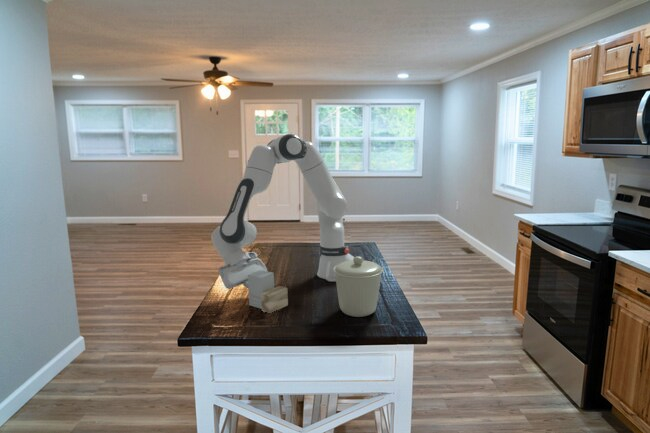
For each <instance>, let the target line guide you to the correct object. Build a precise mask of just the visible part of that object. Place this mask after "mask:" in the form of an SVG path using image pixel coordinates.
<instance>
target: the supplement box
mask: <svg viewBox="0 0 650 433" xmlns="http://www.w3.org/2000/svg"><path fill="white" fill-rule="evenodd" d="M248 287H249V289H248V301H249V302H248V303H249V306H251V307H254V308H256V309H257V308H258V309H261V310H262V301H261V293H264V292H266V291H269V290H271V289H273V288H275V273H274V272H271V271H268V270H267V271H264V270H259V271H256V272H253V273H251V274H248Z"/></svg>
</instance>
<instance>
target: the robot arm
mask: <svg viewBox="0 0 650 433" xmlns="http://www.w3.org/2000/svg"><path fill="white" fill-rule="evenodd" d="M292 161H294V162H295V163H296V165H298V166H297V167H299V170H300V172H301V174H302V176H303V179H305V182H306V184H307V185H308V188H309V189H310V190H311V192H312V194H313V195H314V197H315V199H316V205H317V215H318V216H317V217H318V222H319V223H318V224H319V242H320V243H319V245H318V246H319V247H318V256H319V263H318V270H317V273H316V276H317V277H318V278H320V279H323V280H326V281H328V282H336V276H335V273H334V271H333V268H334V267H335V266H336V265H338V264H340V263H342V262H345V261H350V260H353V259H354V257H355V256H353V255H352V254H350V248H349V245H345V227H344V222H343V217H345V215H346V214H347V212H348V208H349V205H348V202H347V199H346V198H345V196H344V195H343V194H344V193H343V192H342V191H341V189H340V187H339V186H338V184H337V183H336V181H335V180H334V178H333V176H332V174H331V172H330V170H329V167H328V166H327V165H326V162H325V160H324V158H323V157H322V154H321V153H320V151H319V150H318V149H317V147H316V146H315V144H314V143H313V142H311V141H304V140H302V139H301V138H300V137H299V136H298V135H297V134H296V135H295V134H292V133H287V134H284V135H281V136H278V137H276V138H275V139H272V140H270V142H268V144H267V145H266V144H258V145H256V146H255V147H253V149H252V150H251V153H250V156H249V158H248V160H247V163H246V168H245V171H244V174H243V177H242V179H241V181H240V183H239V184H238V186H237V188H236V190H235V193H234V194H233V195H234V196H233V199H232V202H231V204H230V207H229V210H228V211H227V214H226V216H225V217H224V218H223V220H222V221H221V223H220V225H219V226H218V227H216V228H214V230H213V231H212V233H211V234H210V237H211V238H210V240H211V242H212V244H213V246H214V248H215V250H216V252H217V254H218V255H219V256H221V258H222V261H223V263H224V264H225V265H222V266H219V268H218V270H217V272H218V275H219V276H220V279H221V282H222V283H223V285H224V287H225V289H227V290H230V289H233V288H236V287H239V286H241V285H243V286H244V287H245V288H247V289H248V290H249V287H248V274H251V273H253V272H256V271H259V270H264V271H268V268H267V266H266V264H265V263H264V262H263V261H262V260H261V258H259V257H258V254H257V252H256V251H255V252H254V251H253V252H252V251H244V249H243V248H245V247H247V246H249V245H251V244H253V242H255V241H256V239H257V237H258V229H257V227H256V225H255V224H253V223H251V222H249V221H246V220H245V215H246V213H247V210H248V206H249V204H250V201H251V199H253V197H254V196H256V195H258V194H261V193H263V192H265V191H266V190H267V189H268V188H269V186H270V184H271V182H272V177H273V174H274V169H275V166H276V165H277V164H284V163H289V162H292Z"/></svg>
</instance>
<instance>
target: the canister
mask: <svg viewBox="0 0 650 433" xmlns="http://www.w3.org/2000/svg"><path fill="white" fill-rule="evenodd" d="M353 257H354V259H353V260H350V261H345V262H342V263H340V264H338V265H336V266H335V267H334V268H333V271H334V273H335V276H336V281H335V284H336V291H337V298H338V305H339V308H340V310H341V311H342V313H344V314H345V315H347V316H351V317H356V318H360V317H361V318H362V317H367V316H370V315H371V314H373V313H375V311H376V309H377V305H378V299H379V294H380V293H379V292H380V285H381V279H382V278H381V277H382V276H381V275H382V274H383V272H384V268H383V267H382V266H381V265H379V264H378V263H376V262H375V261H374V262H373V261H371V260H370V261H369V260H364V259H363V257H362V256H357V255H356V256H353Z"/></svg>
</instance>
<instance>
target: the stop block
mask: <svg viewBox="0 0 650 433" xmlns="http://www.w3.org/2000/svg"><path fill="white" fill-rule="evenodd" d="M288 294H289V293H288V287H286V286H281V285H278V286H276V287H274V288H273V289H271V290H269V291H266V292H264V293H261V301H262V309H261V312H262V311H263V313H265V312H267V313H266V314H268V313H271V314H272V312H273V313H274V311H275V312H277V311H279V310H281V309H283V308H285V307H287V306H288V305H289V297H288V296H289V295H288ZM276 310H277V311H276Z"/></svg>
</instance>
